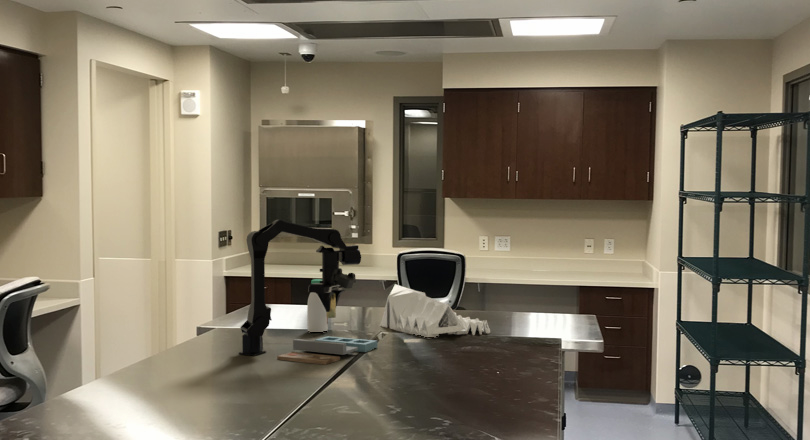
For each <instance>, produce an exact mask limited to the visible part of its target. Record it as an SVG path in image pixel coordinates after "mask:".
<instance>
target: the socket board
mask: <svg viewBox="0 0 810 440" xmlns="http://www.w3.org/2000/svg"><path fill="white" fill-rule="evenodd" d="M314 341H325V342H336V343H346V346H349V347H358V350H356V351H355V352H360V353H367V352H370V351H372V349H373V350H375V349H374V348H376V349H378V340H374V339H364V338H351V337H339V336H328V335H327V336H324V337H320V338H319V337H318V338H316V339H314Z"/></svg>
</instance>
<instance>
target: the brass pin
mask: <svg viewBox="0 0 810 440" xmlns="http://www.w3.org/2000/svg"><path fill="white" fill-rule="evenodd" d="M336 309H337V306H336V294H335V293H334V294H333V295H332V296H331V303H330V311H329V312H326V317H327V318H328V319H333V318H337V313H336V312H337V310H336Z"/></svg>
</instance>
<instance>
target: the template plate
mask: <svg viewBox="0 0 810 440" xmlns="http://www.w3.org/2000/svg"><path fill="white" fill-rule="evenodd" d="M276 358H277V359H276V360H280V361H281V360H282V361H288V362H289V361H291V362H300V363H306V364H307V363H308V364H317V365H324V366H326V365H329V364H331V363H335V362H337V361H340V360H341V356H338V355H331V354H330V355H327V354H321V353H320V354H318V353H311V352H310V353H307V352H301V351H300V352H298V351H290V352H287V353H283V354H279V355H277V356H276Z"/></svg>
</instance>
